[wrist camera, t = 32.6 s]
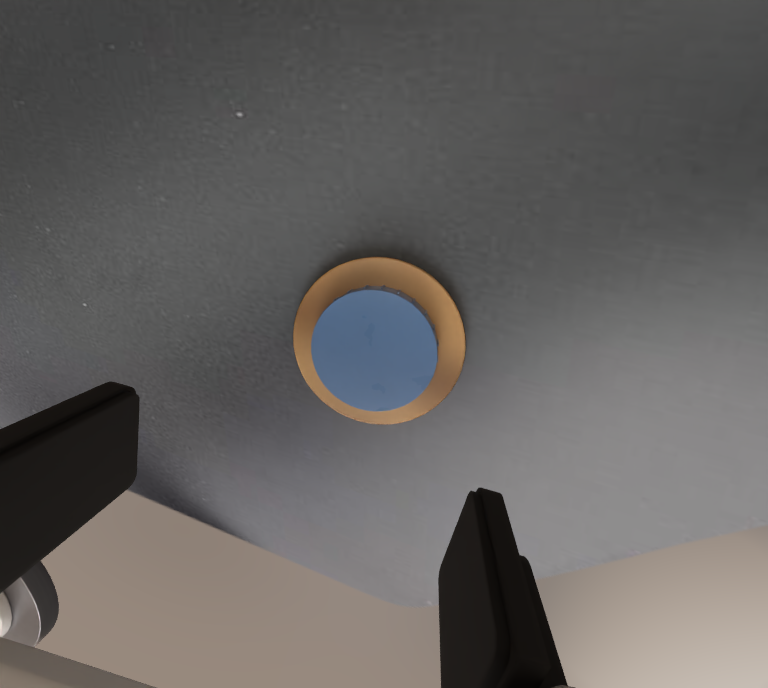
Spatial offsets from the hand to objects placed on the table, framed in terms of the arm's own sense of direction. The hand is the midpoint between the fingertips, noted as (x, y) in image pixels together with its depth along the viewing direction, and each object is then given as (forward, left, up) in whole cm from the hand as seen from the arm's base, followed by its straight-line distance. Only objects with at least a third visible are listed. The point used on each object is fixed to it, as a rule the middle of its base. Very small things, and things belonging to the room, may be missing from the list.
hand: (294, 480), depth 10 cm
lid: (0, 0, -10) cm, 10 cm away
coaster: (0, 0, -12) cm, 12 cm away
